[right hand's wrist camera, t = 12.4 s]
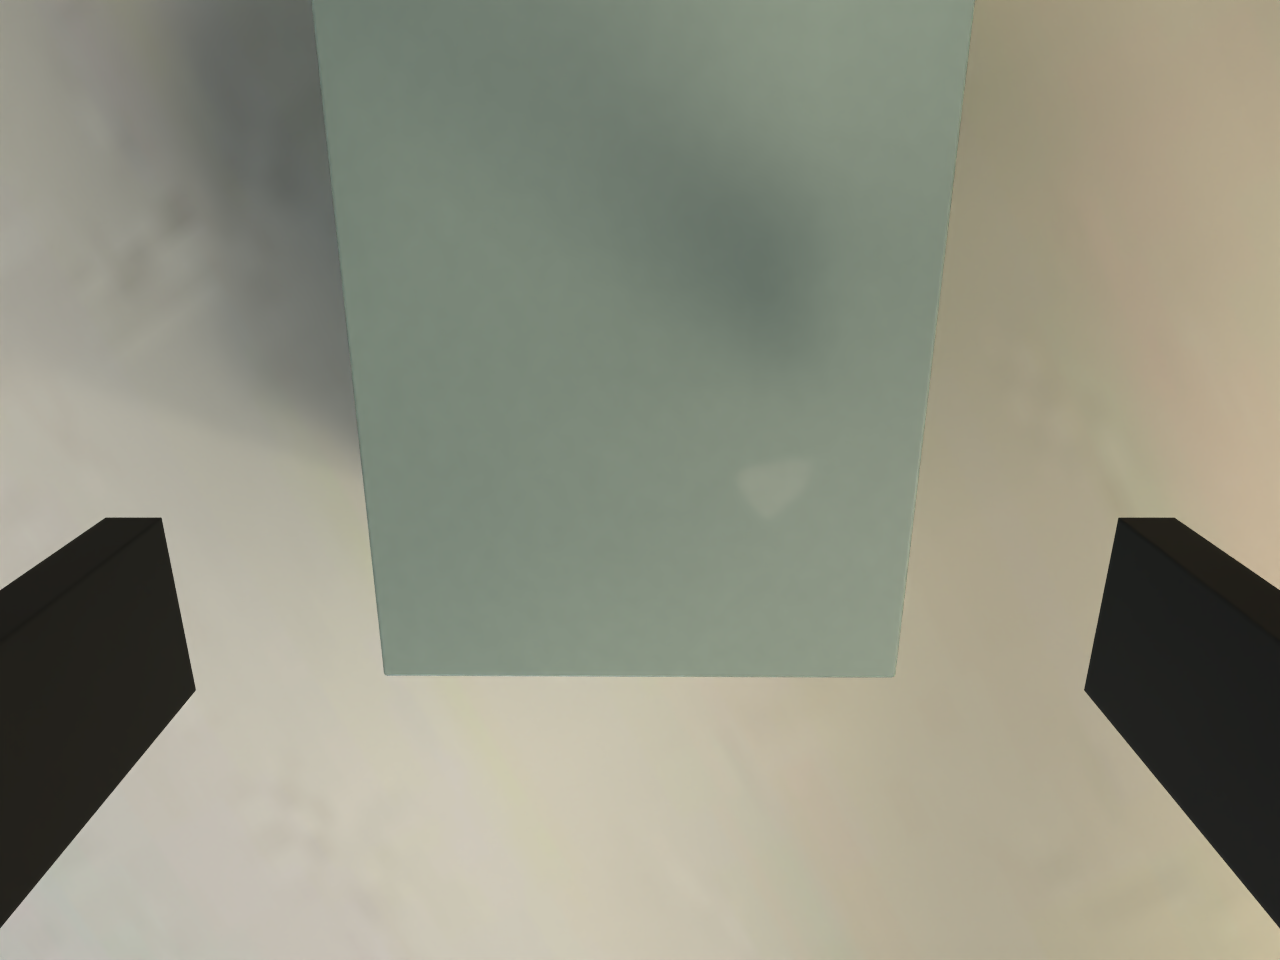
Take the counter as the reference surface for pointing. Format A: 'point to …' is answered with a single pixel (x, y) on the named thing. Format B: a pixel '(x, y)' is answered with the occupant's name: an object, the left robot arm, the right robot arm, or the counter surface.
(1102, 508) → the counter surface
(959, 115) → the cabinet
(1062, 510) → the counter surface
